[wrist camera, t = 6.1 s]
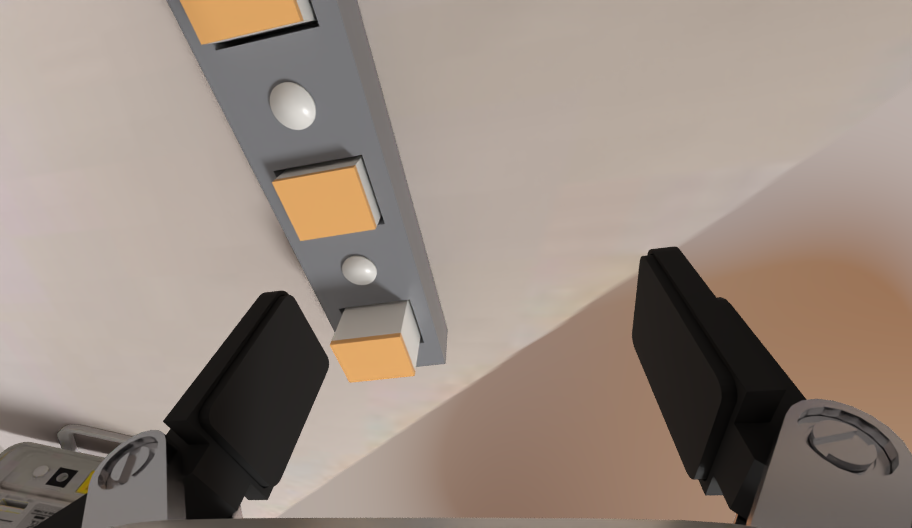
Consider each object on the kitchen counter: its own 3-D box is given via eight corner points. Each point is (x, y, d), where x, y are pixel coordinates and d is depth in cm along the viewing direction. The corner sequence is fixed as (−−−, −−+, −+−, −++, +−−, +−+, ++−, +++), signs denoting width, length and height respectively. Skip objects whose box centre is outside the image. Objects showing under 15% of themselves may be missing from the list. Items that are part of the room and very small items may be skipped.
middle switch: (371, 143, 25) (353, 167, 21) (388, 198, 27) (375, 229, 23) (300, 156, 25) (271, 182, 22) (323, 209, 27) (300, 241, 24)
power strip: (311, -166, 17) (272, -210, 14) (447, 330, 35) (445, 365, 31) (159, -120, 18) (87, -150, 15) (366, 339, 36) (355, 375, 32)
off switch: (408, 294, 29) (399, 337, 25) (421, 331, 31) (414, 375, 27) (347, 302, 29) (329, 345, 26) (363, 338, 32) (349, 382, 28)
